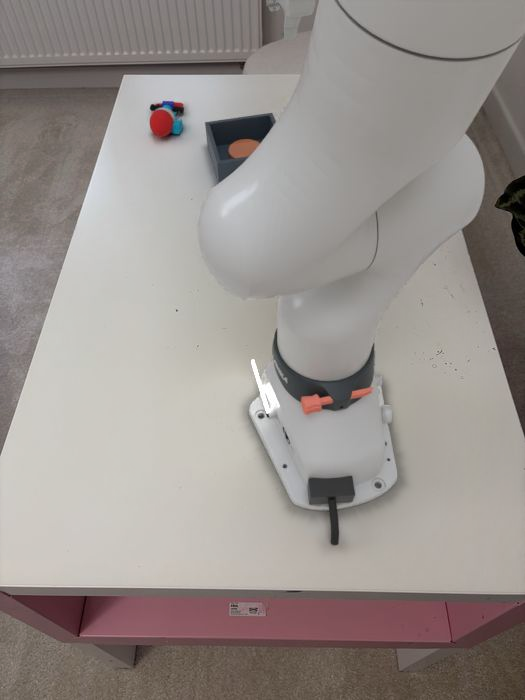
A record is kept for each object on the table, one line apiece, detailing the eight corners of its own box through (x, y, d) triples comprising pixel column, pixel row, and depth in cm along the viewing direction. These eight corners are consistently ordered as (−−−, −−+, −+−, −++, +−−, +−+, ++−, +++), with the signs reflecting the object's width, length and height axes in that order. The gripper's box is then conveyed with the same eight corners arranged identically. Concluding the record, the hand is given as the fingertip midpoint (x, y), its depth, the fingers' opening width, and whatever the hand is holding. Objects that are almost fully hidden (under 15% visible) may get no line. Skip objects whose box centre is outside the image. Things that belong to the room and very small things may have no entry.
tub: (288, 178, 100) (289, 152, 96) (219, 189, 99) (217, 163, 94) (272, 137, 108) (272, 112, 103) (207, 147, 106) (204, 122, 102)
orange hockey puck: (267, 167, 101) (266, 157, 99) (232, 173, 100) (232, 162, 98) (259, 147, 105) (259, 136, 103) (226, 152, 104) (225, 141, 102)
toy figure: (153, 112, 116) (141, 141, 106) (151, 89, 113) (139, 116, 102) (187, 115, 117) (179, 144, 106) (186, 92, 113) (178, 119, 103)
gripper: (334, -74, 57) (323, 56, 69) (287, -127, 69) (285, -9, 80) (279, -68, 57) (277, 62, 68) (241, -123, 68) (245, -4, 79)
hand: (281, 23), depth 74 cm, fingers open, 8 cm apart
